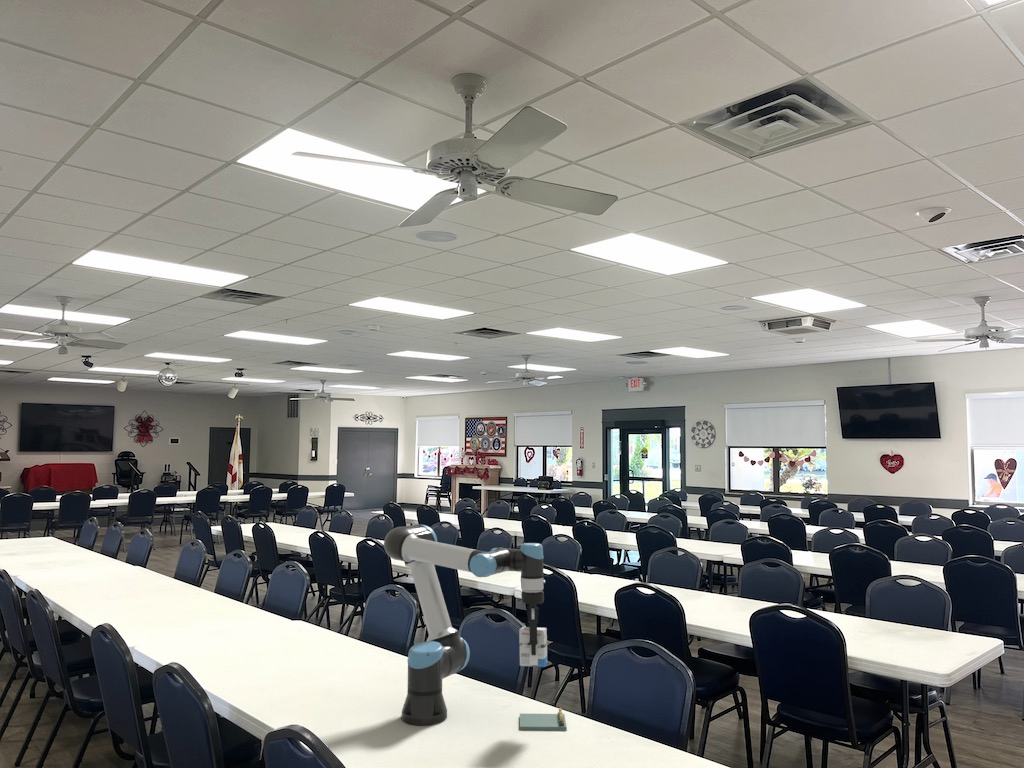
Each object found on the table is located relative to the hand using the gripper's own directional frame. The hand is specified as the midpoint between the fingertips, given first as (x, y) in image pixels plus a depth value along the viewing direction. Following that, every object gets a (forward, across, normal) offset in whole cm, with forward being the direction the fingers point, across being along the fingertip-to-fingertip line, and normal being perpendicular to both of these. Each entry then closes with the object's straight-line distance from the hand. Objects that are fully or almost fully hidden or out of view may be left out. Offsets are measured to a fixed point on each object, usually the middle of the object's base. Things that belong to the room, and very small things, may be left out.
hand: (533, 662), depth 239 cm
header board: (+20, +1, -3) cm, 20 cm away
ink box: (+1, 0, 0) cm, 1 cm away
